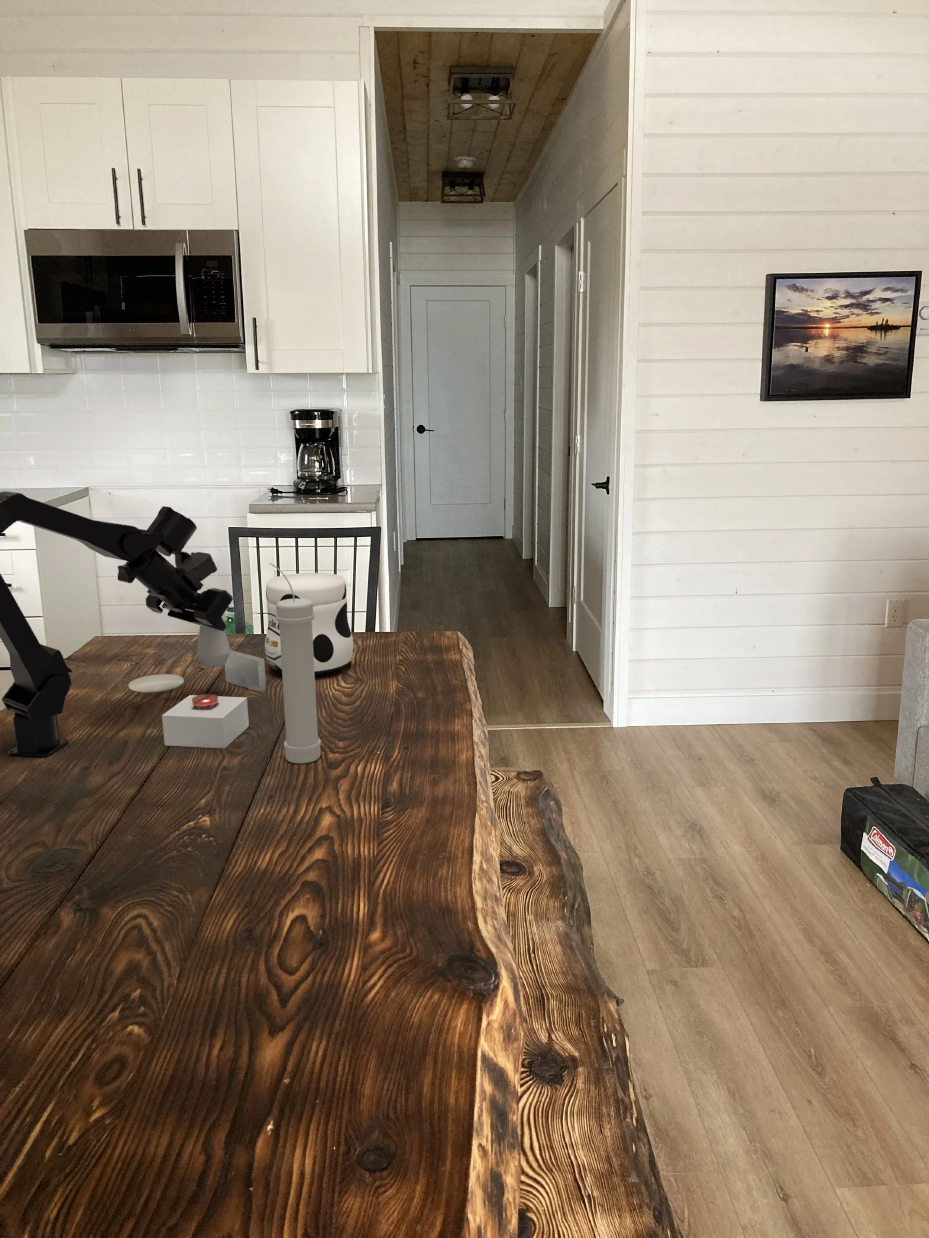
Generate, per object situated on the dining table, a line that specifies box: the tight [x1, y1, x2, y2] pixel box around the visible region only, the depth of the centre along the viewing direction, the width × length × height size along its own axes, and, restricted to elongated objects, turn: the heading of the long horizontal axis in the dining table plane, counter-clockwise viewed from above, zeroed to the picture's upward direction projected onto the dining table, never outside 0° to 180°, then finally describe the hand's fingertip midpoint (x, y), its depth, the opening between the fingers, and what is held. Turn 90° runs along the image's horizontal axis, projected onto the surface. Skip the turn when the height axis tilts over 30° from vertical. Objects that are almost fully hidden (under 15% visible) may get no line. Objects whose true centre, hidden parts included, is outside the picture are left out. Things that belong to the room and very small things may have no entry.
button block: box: [161, 694, 250, 749], centre depth 152 cm, size 10×10×5 cm
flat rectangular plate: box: [224, 649, 267, 692], centre depth 177 cm, size 2×10×6 cm, turn 51°
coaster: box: [128, 673, 185, 693], centre depth 180 cm, size 10×10×1 cm
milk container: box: [264, 572, 354, 676], centre depth 187 cm, size 17×17×18 cm
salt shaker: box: [196, 624, 231, 668], centre depth 170 cm, size 6×6×13 cm
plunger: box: [192, 693, 218, 710], centre depth 152 cm, size 4×4×5 cm
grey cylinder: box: [269, 562, 322, 764], centre depth 140 cm, size 6×6×30 cm
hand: (218, 627), depth 171 cm, fingers closed on salt shaker, 3 cm apart
